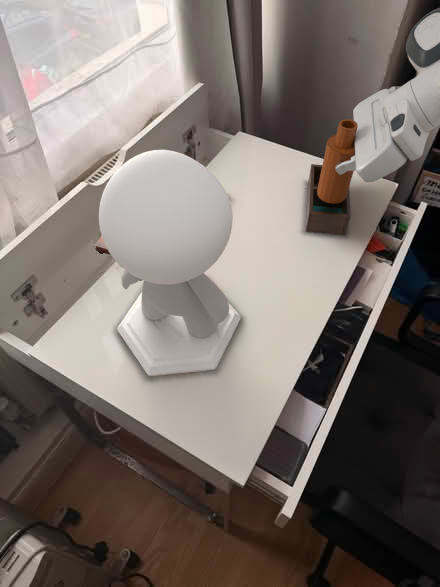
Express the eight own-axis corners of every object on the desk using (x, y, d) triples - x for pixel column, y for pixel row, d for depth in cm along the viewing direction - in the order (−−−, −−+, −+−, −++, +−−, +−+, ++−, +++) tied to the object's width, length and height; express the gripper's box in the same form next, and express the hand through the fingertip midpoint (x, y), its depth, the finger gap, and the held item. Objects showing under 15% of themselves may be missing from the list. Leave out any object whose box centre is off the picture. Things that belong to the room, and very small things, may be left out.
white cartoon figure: (252, 295, 84) (263, 138, 56) (201, 398, 72) (182, 263, 44) (162, 264, 89) (130, 105, 61) (100, 356, 77) (25, 210, 49)
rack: (343, 186, 102) (348, 166, 98) (344, 235, 93) (350, 216, 89) (307, 183, 103) (311, 164, 99) (305, 231, 94) (309, 213, 90)
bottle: (346, 185, 92) (365, 115, 79) (346, 204, 88) (366, 135, 75) (317, 183, 92) (331, 113, 79) (316, 202, 89) (331, 133, 76)
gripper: (392, 69, 78) (328, 115, 87) (402, 137, 67) (327, 182, 76) (409, 94, 82) (345, 136, 91) (422, 163, 70) (347, 203, 79)
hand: (337, 157), depth 83 cm, fingers closed on bottle, 6 cm apart
